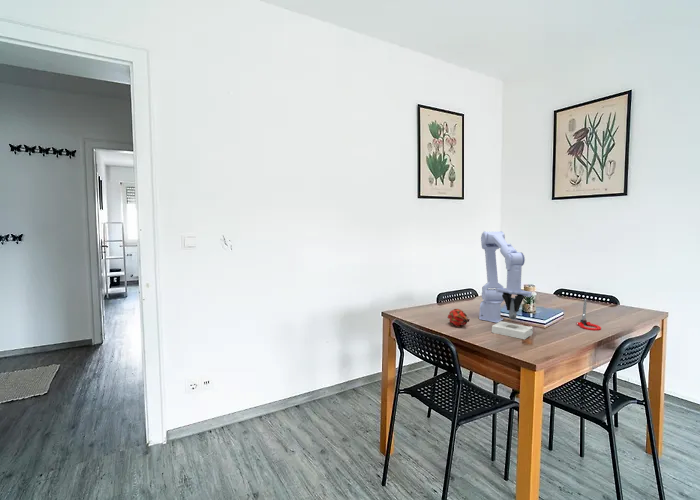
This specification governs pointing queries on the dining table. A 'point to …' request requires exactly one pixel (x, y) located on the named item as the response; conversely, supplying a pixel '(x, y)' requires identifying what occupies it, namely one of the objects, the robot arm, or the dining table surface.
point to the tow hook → (584, 321)
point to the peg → (512, 309)
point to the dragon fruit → (458, 317)
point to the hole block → (512, 330)
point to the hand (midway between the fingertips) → (512, 310)
